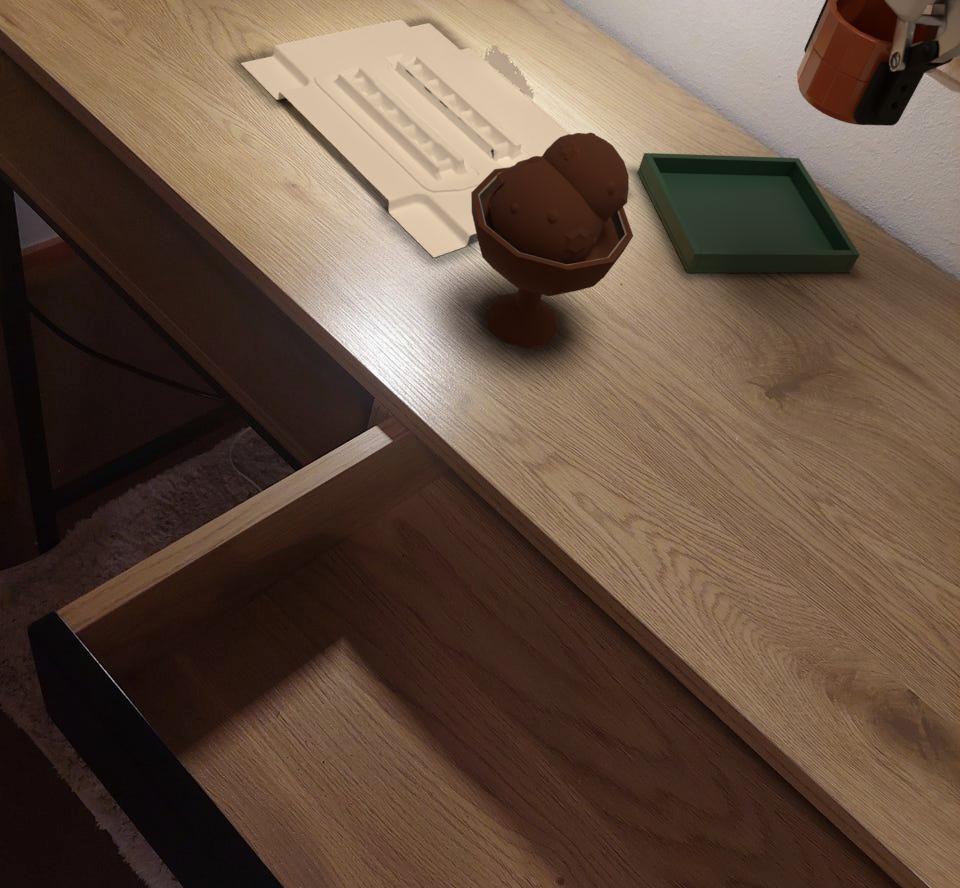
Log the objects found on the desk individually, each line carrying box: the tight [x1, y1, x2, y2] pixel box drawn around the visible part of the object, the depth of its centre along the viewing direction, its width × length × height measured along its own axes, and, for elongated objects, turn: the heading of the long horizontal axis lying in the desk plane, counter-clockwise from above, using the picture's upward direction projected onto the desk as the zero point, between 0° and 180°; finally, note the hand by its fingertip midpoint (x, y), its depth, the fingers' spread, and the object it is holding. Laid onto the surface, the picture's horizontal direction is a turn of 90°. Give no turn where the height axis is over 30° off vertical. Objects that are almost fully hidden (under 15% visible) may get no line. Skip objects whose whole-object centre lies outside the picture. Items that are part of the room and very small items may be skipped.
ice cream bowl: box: [471, 132, 634, 349], centre depth 73 cm, size 11×11×15 cm
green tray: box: [637, 152, 861, 274], centre depth 91 cm, size 15×13×2 cm
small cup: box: [796, 0, 926, 126], centre depth 70 cm, size 7×7×6 cm
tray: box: [240, 18, 571, 258], centre depth 90 cm, size 20×28×4 cm
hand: (848, 86), depth 72 cm, fingers closed on small cup, 7 cm apart
